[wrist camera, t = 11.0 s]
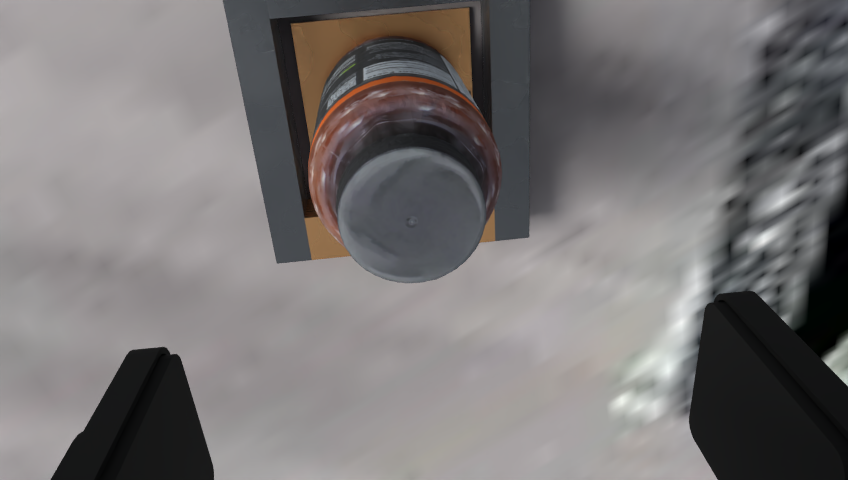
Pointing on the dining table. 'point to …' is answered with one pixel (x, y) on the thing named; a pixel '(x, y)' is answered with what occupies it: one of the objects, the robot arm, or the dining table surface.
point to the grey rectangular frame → (316, 57)
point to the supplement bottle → (402, 161)
